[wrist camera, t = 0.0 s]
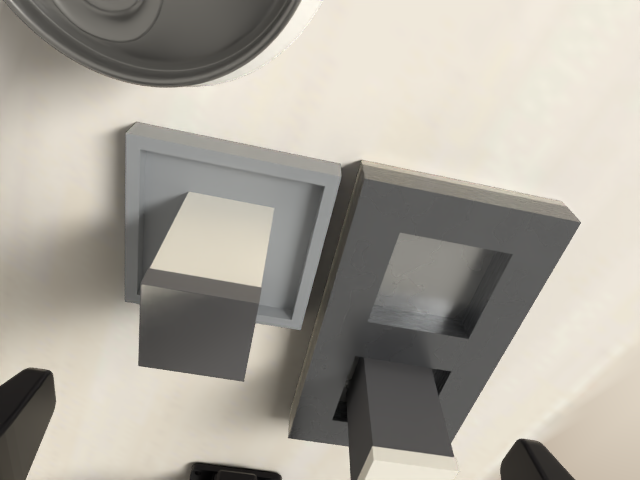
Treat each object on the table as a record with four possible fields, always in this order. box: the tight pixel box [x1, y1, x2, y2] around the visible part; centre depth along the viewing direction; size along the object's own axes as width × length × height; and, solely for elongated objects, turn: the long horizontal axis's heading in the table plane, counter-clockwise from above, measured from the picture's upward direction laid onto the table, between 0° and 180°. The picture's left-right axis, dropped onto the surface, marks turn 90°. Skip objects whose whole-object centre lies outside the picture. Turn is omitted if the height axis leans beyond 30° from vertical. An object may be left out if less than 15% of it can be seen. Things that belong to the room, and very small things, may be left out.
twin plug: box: [346, 357, 459, 480], centre depth 26 cm, size 4×4×7 cm
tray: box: [125, 122, 342, 330], centre depth 23 cm, size 9×9×1 cm
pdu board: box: [288, 160, 581, 446], centre depth 27 cm, size 18×10×2 cm, turn 168°
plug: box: [138, 192, 274, 382], centre depth 21 cm, size 4×4×7 cm
